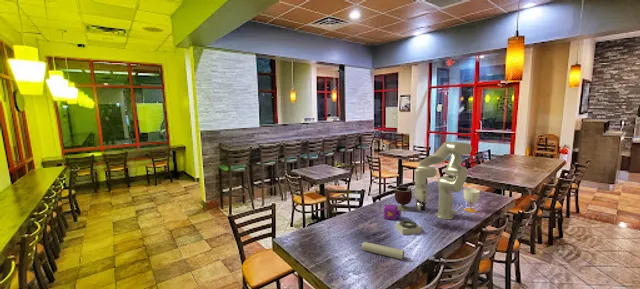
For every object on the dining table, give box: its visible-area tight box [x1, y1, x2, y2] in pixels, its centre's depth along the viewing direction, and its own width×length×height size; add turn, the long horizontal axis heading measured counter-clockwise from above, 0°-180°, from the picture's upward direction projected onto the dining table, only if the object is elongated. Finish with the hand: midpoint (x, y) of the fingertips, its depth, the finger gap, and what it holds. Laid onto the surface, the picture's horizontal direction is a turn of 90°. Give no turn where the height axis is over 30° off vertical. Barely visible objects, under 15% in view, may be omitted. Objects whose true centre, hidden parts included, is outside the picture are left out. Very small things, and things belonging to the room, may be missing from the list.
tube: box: [361, 241, 405, 261], centre depth 163 cm, size 5×5×25 cm
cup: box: [463, 187, 481, 214], centre depth 224 cm, size 12×12×17 cm
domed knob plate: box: [395, 219, 422, 236], centre depth 191 cm, size 14×10×6 cm
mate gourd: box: [394, 186, 415, 212], centre depth 231 cm, size 16×14×20 cm
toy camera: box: [383, 203, 403, 221], centre depth 213 cm, size 11×14×10 cm
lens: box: [416, 200, 424, 212], centre depth 200 cm, size 5×5×6 cm
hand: (420, 208), depth 200 cm, fingers closed on lens, 5 cm apart
